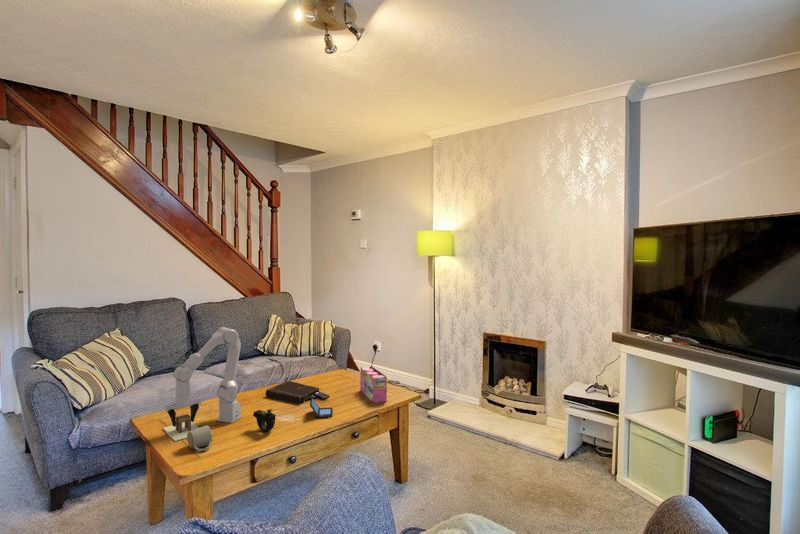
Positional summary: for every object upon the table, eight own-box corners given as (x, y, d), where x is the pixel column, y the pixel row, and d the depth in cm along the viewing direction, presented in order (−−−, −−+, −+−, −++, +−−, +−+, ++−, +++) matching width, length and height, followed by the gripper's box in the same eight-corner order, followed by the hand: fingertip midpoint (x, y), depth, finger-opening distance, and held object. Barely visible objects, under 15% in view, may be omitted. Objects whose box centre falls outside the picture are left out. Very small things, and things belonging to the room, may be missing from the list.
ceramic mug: (186, 445, 181) (186, 427, 180) (206, 440, 186) (206, 422, 186) (194, 455, 173) (194, 436, 172) (215, 449, 178) (215, 430, 178)
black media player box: (299, 406, 229) (299, 397, 229) (265, 398, 241) (265, 389, 241) (322, 395, 245) (322, 386, 245) (289, 388, 257) (288, 380, 257)
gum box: (359, 390, 254) (359, 367, 253) (371, 388, 257) (371, 365, 257) (373, 403, 232) (373, 378, 231) (387, 401, 235) (387, 376, 235)
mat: (204, 433, 193) (204, 432, 193) (174, 441, 184) (174, 440, 184) (191, 421, 206) (191, 420, 206) (163, 428, 198) (163, 427, 198)
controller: (269, 435, 191) (269, 412, 191) (251, 428, 198) (251, 407, 198) (277, 431, 195) (277, 410, 194) (259, 425, 202) (259, 404, 201)
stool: (191, 430, 195) (190, 417, 195) (179, 433, 192) (178, 419, 191) (187, 426, 199) (187, 413, 198) (175, 429, 195) (175, 416, 195)
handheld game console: (332, 418, 211) (332, 403, 211) (309, 419, 210) (309, 404, 209) (332, 409, 224) (332, 395, 223) (311, 410, 222) (311, 396, 222)
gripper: (196, 388, 202) (197, 416, 203) (162, 395, 192) (163, 425, 193) (202, 391, 197) (202, 421, 198) (167, 399, 187) (167, 430, 188)
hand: (183, 423), depth 195 cm, fingers open, 7 cm apart
